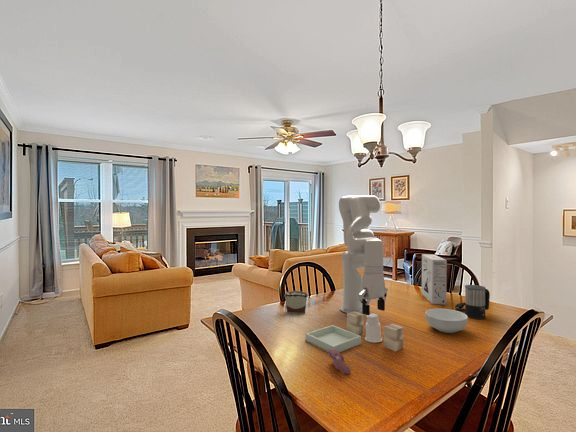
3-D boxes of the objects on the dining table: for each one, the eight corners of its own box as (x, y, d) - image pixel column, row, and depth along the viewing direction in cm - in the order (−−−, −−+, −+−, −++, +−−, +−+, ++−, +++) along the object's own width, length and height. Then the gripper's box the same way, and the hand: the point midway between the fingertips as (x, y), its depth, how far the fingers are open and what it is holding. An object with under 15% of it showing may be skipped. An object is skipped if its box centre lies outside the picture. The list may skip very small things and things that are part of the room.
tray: (332, 331, 138) (332, 324, 138) (361, 343, 126) (361, 336, 126) (305, 340, 129) (305, 333, 129) (333, 354, 116) (333, 346, 116)
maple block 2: (391, 343, 126) (391, 323, 126) (403, 348, 122) (403, 327, 122) (384, 346, 123) (384, 326, 123) (395, 351, 119) (395, 330, 119)
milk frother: (481, 321, 152) (482, 290, 151) (447, 313, 163) (447, 284, 163) (491, 314, 161) (492, 285, 161) (458, 307, 173) (458, 280, 172)
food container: (308, 309, 169) (308, 290, 168) (308, 313, 163) (308, 294, 162) (285, 309, 170) (285, 290, 170) (284, 312, 164) (284, 293, 164)
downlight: (384, 337, 132) (383, 313, 132) (383, 344, 126) (382, 318, 125) (364, 335, 135) (363, 312, 135) (362, 342, 128) (361, 317, 128)
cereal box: (421, 294, 200) (421, 254, 199) (434, 294, 199) (434, 254, 198) (432, 304, 178) (432, 259, 178) (446, 304, 177) (446, 259, 177)
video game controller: (333, 365, 112) (324, 347, 112) (344, 358, 112) (335, 341, 112) (340, 380, 102) (330, 361, 102) (352, 373, 102) (343, 354, 102)
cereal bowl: (434, 320, 153) (434, 305, 152) (472, 329, 141) (473, 313, 141) (418, 329, 141) (419, 313, 141) (459, 340, 129) (460, 323, 129)
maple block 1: (354, 329, 141) (354, 311, 141) (363, 332, 137) (363, 314, 137) (346, 332, 138) (346, 313, 138) (355, 335, 134) (355, 316, 134)
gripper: (379, 266, 138) (379, 306, 138) (352, 270, 127) (352, 313, 127) (394, 268, 132) (394, 310, 132) (367, 273, 121) (367, 318, 121)
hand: (373, 312), depth 129 cm, fingers open, 9 cm apart
